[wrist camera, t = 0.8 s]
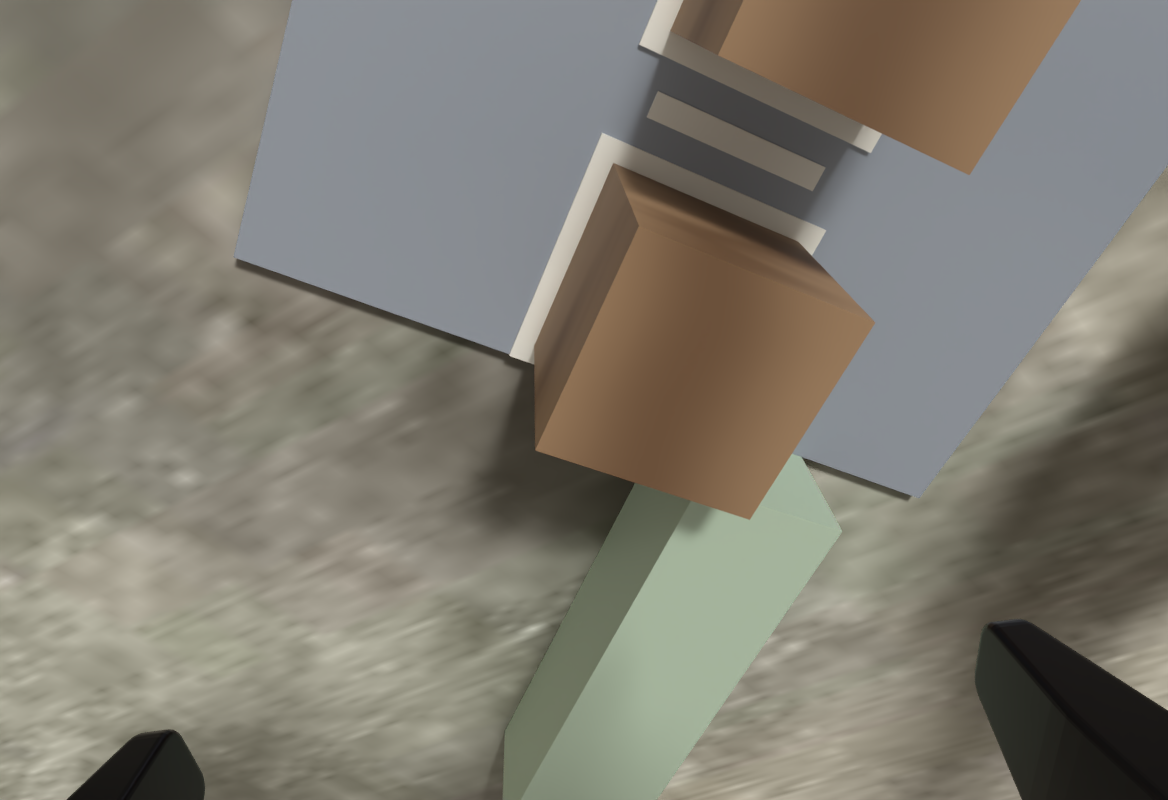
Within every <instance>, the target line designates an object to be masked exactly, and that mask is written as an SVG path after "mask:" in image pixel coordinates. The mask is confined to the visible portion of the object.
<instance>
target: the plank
mask: <svg viewBox="0 0 1168 800" xmlns="http://www.w3.org/2000/svg"><path fill="white" fill-rule="evenodd" d="M841 533H842V530H841V528H840V526H839V524H838V522H837V521H836V519H835V517H834V515H833V513H832V511H831V510H830V508H829V506H828V504H827V502H826V501H825V499H824V497H823V495H822V493H821V491H820V490H819V488H818V486H817V484H816V482H815V481H814V479H813V477H812V475H811V473H810V471H809V470H808V468H807V466H806V464H805V462H804V460H803V459H802V457H800V456H797V455H794V454H791V456H790V458H789V459H788V461H787V462H786V464H785V465H784V467H783V469H782V470H781V472H780V473H779V475H778V476H777V478H776V479H775V481H774V483H773V484H772V486H771V487H770V489H769V490H768V492H767V494H766V495H765V497H764V498H763V500H762V501H761V503H760V505H759V506H758V508H757V509H756V511H755V512H754V514H753V516H752V517H751V519H750V520H748V519H745V518H742V517H739V516H736V515H733V514H730V513H727V512H724V511H721V510H718V509H714V508H711V507H708V506H705V505H702V504H699V503H696V502H693V501H690V500H687V499H684V498H681V497H677V496H674V495H671V494H668V493H665V492H662V491H659V490H656V489H653V488H650V487H647V486H643V485H640V484H637V483H635V484H634V486H633V488H632V490H631V492H630V494H629V496H628V498H627V500H626V501H625V503H624V505H623V507H622V509H621V511H620V513H619V515H618V517H617V519H616V520H615V522H614V524H613V526H612V528H611V530H610V532H609V534H608V536H607V538H606V540H605V541H604V543H603V545H602V547H601V549H600V551H599V553H598V555H597V557H596V559H595V560H594V562H593V564H592V566H591V568H590V570H589V572H588V574H587V576H586V578H585V580H584V581H583V583H582V585H581V587H580V589H579V591H578V593H577V595H576V597H575V599H574V601H573V602H572V604H571V606H570V608H569V610H568V612H567V614H566V616H565V618H564V620H563V621H562V623H561V625H560V627H559V629H558V631H557V633H556V635H555V637H554V639H553V641H552V642H551V644H550V646H549V648H548V650H547V652H546V654H545V656H544V658H543V660H542V661H541V663H540V665H539V667H538V669H537V671H536V673H535V675H534V677H533V679H532V681H531V682H530V684H529V686H528V688H527V690H526V692H525V694H524V696H523V698H522V700H521V702H520V703H519V705H518V707H517V709H516V711H515V713H514V715H513V717H512V719H511V721H510V722H509V724H508V726H507V728H506V730H505V739H504V772H503V800H657V799H658V797H659V796H660V794H661V793H662V792H663V790H664V789H665V787H666V786H667V784H668V783H669V781H670V780H671V779H672V777H673V776H674V774H675V773H676V771H677V770H678V768H679V767H680V765H681V764H682V763H683V761H684V760H685V758H686V757H687V755H688V754H689V752H690V751H691V750H692V748H693V747H694V745H695V744H696V742H697V741H698V739H699V738H700V737H701V735H702V734H703V732H704V731H705V729H706V728H707V726H708V725H709V724H710V722H711V721H712V719H713V718H714V716H715V715H716V713H717V712H718V710H719V709H720V708H721V706H722V705H723V703H724V702H725V700H726V699H727V697H728V696H729V695H730V693H731V692H732V690H733V689H734V687H735V686H736V684H737V683H738V682H739V680H740V679H741V677H742V676H743V674H744V673H745V671H746V670H747V669H748V667H749V666H750V664H751V663H752V661H753V660H754V658H755V657H756V656H757V654H758V653H759V651H760V650H761V648H762V647H763V645H764V644H765V642H766V641H767V640H768V638H769V637H770V635H771V634H772V632H773V631H774V629H775V628H776V627H777V625H778V624H779V622H780V621H781V619H782V618H783V616H784V615H785V614H786V612H787V611H788V609H789V608H790V606H791V605H792V603H793V602H794V601H795V599H796V598H797V596H798V595H799V593H800V592H801V590H802V589H803V588H804V586H805V585H806V583H807V582H808V580H809V579H810V577H811V576H812V574H813V573H814V572H815V570H816V569H817V567H818V566H819V564H820V563H821V561H822V560H823V559H824V557H825V556H826V554H827V553H828V551H829V550H830V548H831V547H832V546H833V544H834V543H835V541H836V540H837V538H838V537H839V535H840V534H841Z"/></svg>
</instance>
